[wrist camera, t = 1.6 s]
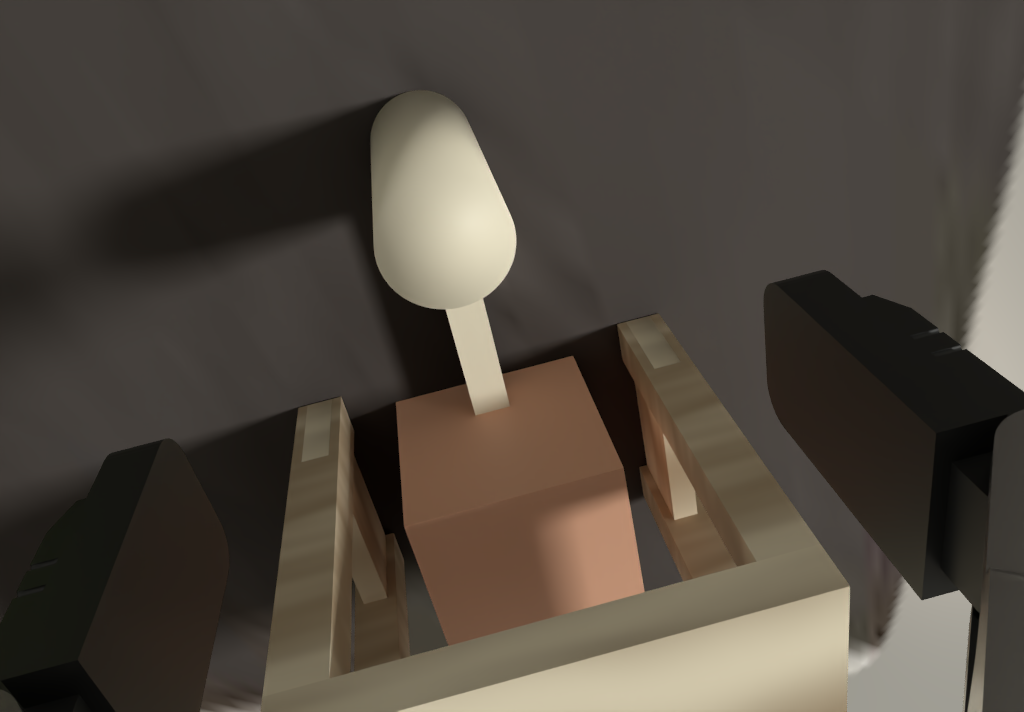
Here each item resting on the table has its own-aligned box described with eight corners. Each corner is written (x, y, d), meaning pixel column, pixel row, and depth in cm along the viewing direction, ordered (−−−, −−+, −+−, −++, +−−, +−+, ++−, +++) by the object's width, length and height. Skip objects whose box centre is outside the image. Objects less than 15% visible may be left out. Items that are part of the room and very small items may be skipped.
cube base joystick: (298, 118, 21) (271, 217, 15) (516, 64, 22) (582, 138, 15) (441, 533, 29) (463, 713, 23) (598, 490, 30) (664, 657, 23)
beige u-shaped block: (298, 407, 26) (255, 750, 15) (658, 313, 26) (849, 585, 16) (367, 570, 30) (369, 930, 19) (679, 485, 30) (844, 794, 20)
